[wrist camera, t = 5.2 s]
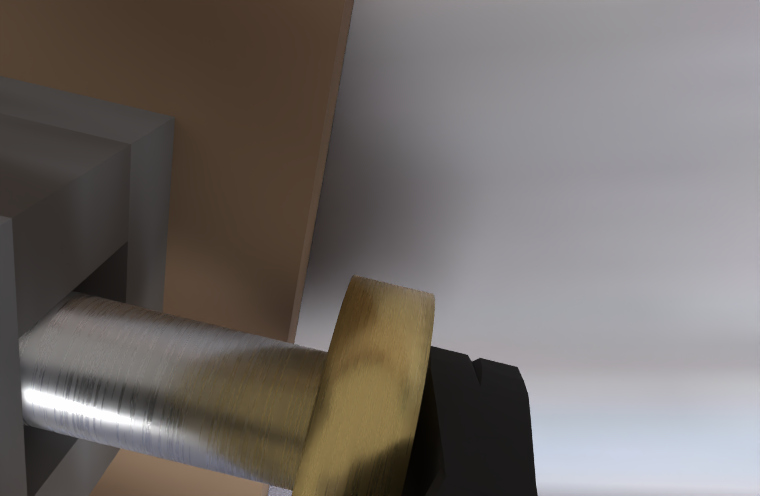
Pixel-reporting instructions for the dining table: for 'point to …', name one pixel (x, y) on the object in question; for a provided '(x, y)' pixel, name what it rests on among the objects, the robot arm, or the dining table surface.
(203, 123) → the bearing frame
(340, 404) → the shaft
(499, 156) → the dining table surface
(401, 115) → the dining table surface
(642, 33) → the dining table surface
